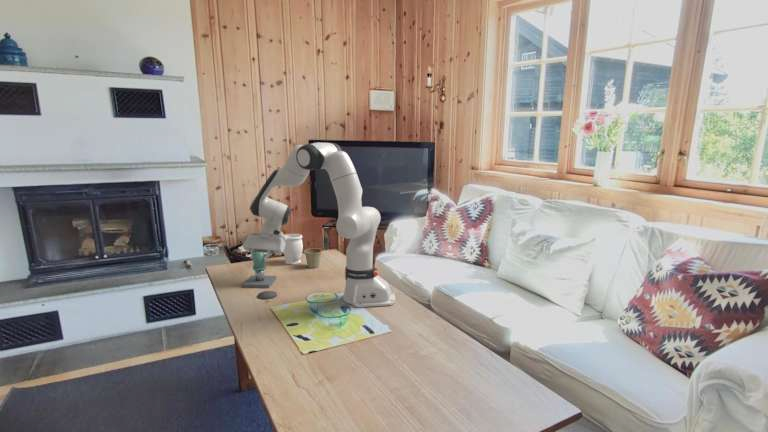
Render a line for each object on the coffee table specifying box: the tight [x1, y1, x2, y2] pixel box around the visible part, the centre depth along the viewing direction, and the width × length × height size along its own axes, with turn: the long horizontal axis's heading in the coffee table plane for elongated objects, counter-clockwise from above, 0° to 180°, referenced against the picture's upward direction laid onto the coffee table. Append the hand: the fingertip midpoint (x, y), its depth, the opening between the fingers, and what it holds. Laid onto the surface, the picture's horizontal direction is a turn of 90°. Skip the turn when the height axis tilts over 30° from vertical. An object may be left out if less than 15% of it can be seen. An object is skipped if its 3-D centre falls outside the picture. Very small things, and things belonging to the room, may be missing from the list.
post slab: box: [242, 274, 277, 289], centre depth 195 cm, size 12×12×2 cm
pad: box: [257, 290, 278, 300], centre depth 181 cm, size 8×8×1 cm
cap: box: [252, 251, 267, 272], centre depth 193 cm, size 6×6×8 cm
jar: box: [283, 233, 304, 266], centre depth 225 cm, size 11×10×15 cm
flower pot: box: [303, 247, 323, 269], centre depth 220 cm, size 9×9×9 cm
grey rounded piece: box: [254, 270, 265, 281], centre depth 195 cm, size 4×6×6 cm, turn 179°
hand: (258, 259), depth 193 cm, fingers closed on cap, 5 cm apart
